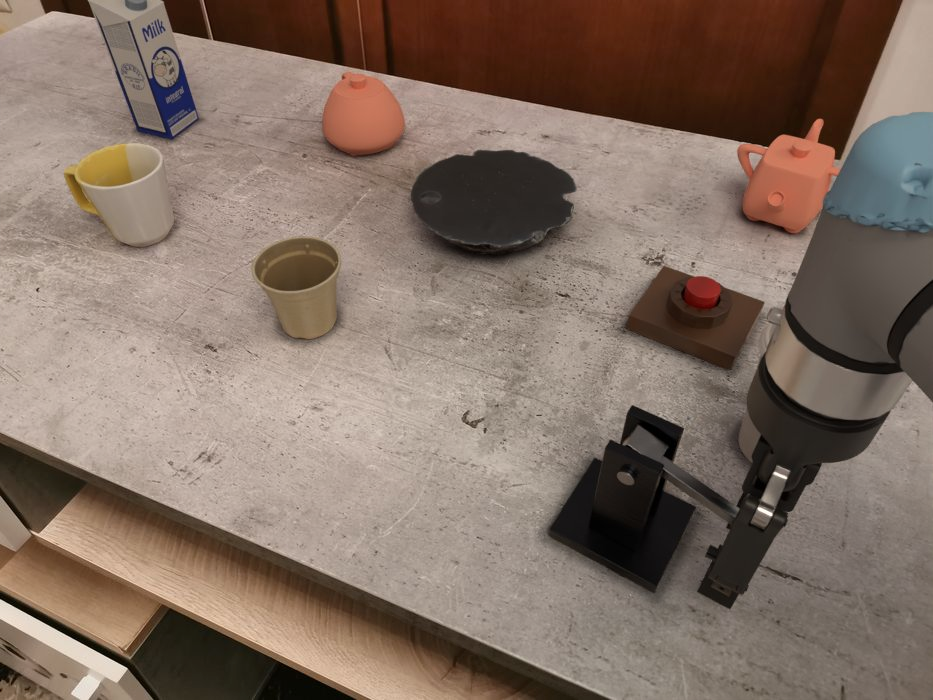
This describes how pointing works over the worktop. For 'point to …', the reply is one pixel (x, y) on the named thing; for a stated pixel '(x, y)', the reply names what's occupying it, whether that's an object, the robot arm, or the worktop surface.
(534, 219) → the board
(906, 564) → the worktop surface
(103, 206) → the mug
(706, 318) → the button block
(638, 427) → the press lever
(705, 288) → the button
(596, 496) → the lever bracket
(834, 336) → the robot arm
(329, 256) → the flower pot
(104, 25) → the milk carton
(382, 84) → the sugar bowl
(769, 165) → the teapot
